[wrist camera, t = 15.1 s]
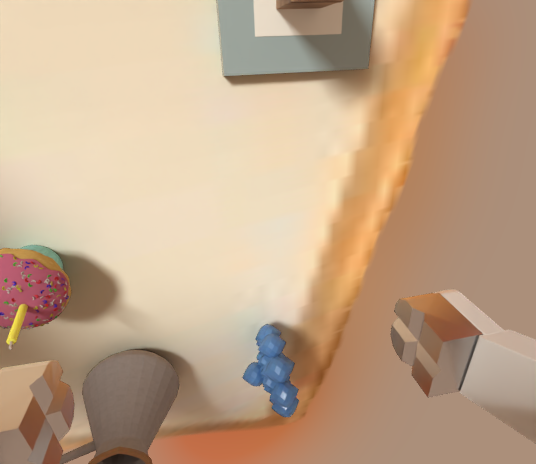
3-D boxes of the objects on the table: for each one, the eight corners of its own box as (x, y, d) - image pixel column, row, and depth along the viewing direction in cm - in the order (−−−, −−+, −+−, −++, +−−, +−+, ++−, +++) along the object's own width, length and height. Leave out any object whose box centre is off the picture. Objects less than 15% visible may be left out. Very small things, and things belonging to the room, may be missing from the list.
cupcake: (81, 233, 36) (38, 306, 26) (83, 298, 40) (46, 386, 29) (-17, 226, 34) (-107, 303, 23) (-5, 296, 37) (-79, 390, 27)
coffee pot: (181, 336, 45) (180, 451, 32) (177, 396, 50) (174, 518, 37) (-10, 341, 40) (-105, 483, 27) (7, 409, 44) (-67, 556, 31)
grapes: (227, 310, 45) (240, 388, 34) (278, 297, 45) (305, 370, 35) (243, 370, 50) (258, 453, 40) (287, 358, 51) (314, 436, 41)
